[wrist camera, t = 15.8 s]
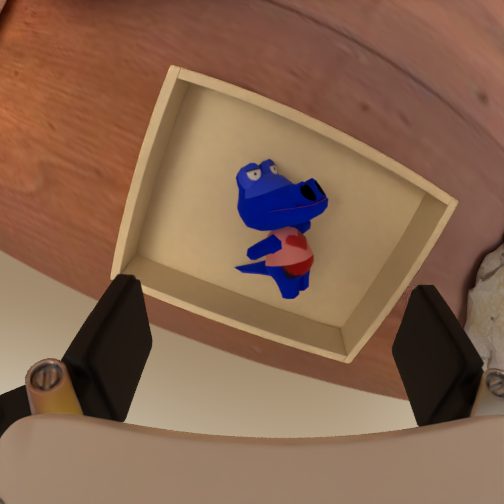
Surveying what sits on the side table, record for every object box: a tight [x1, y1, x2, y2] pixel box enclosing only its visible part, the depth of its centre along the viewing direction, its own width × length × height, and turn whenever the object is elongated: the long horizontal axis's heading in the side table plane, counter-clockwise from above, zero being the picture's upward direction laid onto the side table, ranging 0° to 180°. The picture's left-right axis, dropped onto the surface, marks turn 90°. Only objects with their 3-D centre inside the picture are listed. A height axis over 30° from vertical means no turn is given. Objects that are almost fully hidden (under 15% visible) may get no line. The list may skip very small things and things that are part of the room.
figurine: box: [234, 159, 328, 299], centre depth 18 cm, size 5×8×5 cm, turn 0°
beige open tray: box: [110, 65, 458, 363], centre depth 19 cm, size 17×13×4 cm
